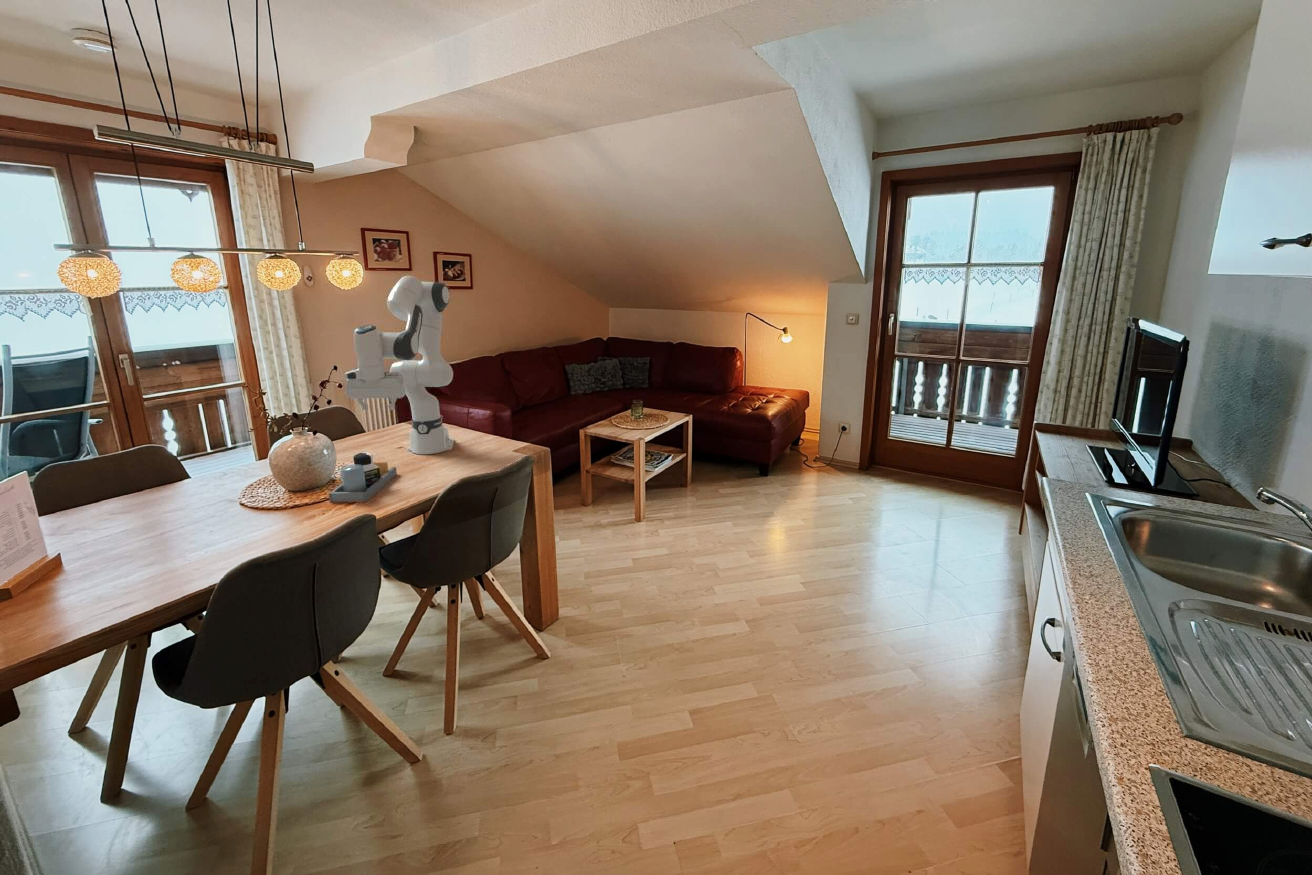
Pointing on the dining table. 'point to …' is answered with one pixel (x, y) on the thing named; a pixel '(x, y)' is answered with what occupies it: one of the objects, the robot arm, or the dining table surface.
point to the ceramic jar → (353, 478)
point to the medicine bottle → (368, 468)
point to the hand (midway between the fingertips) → (378, 409)
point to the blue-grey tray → (342, 496)
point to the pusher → (382, 467)
